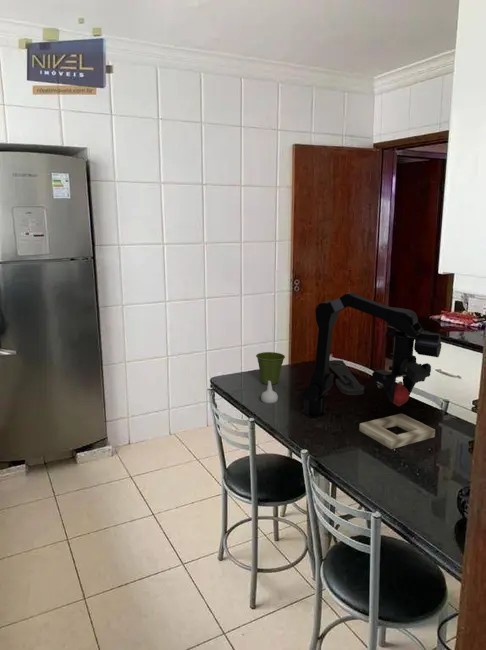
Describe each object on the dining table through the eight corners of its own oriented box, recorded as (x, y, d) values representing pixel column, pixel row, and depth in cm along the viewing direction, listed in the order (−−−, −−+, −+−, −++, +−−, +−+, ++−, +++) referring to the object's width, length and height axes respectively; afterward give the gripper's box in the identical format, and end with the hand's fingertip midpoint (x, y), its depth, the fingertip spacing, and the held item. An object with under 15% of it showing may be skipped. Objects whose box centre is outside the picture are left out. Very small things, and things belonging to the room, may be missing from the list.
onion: (407, 411, 146) (410, 386, 144) (388, 408, 148) (390, 383, 146) (408, 404, 151) (410, 380, 150) (389, 401, 153) (391, 377, 152)
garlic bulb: (280, 404, 177) (282, 383, 175) (265, 405, 174) (267, 384, 173) (272, 398, 182) (274, 378, 181) (257, 399, 180) (259, 378, 178)
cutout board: (391, 449, 142) (391, 441, 141) (359, 430, 154) (359, 423, 153) (434, 437, 150) (435, 429, 149) (401, 420, 162) (401, 413, 161)
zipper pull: (343, 359, 208) (368, 378, 184) (342, 374, 210) (367, 394, 186) (323, 360, 207) (346, 379, 183) (323, 375, 208) (345, 395, 184)
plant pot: (278, 388, 191) (278, 361, 189) (250, 384, 196) (251, 357, 194) (288, 379, 201) (289, 354, 199) (262, 375, 206) (262, 350, 204)
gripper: (399, 362, 135) (395, 414, 138) (446, 354, 143) (441, 404, 146) (372, 352, 144) (368, 401, 148) (417, 345, 153) (413, 392, 156)
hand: (398, 400), depth 149 cm, fingers closed on onion, 6 cm apart
